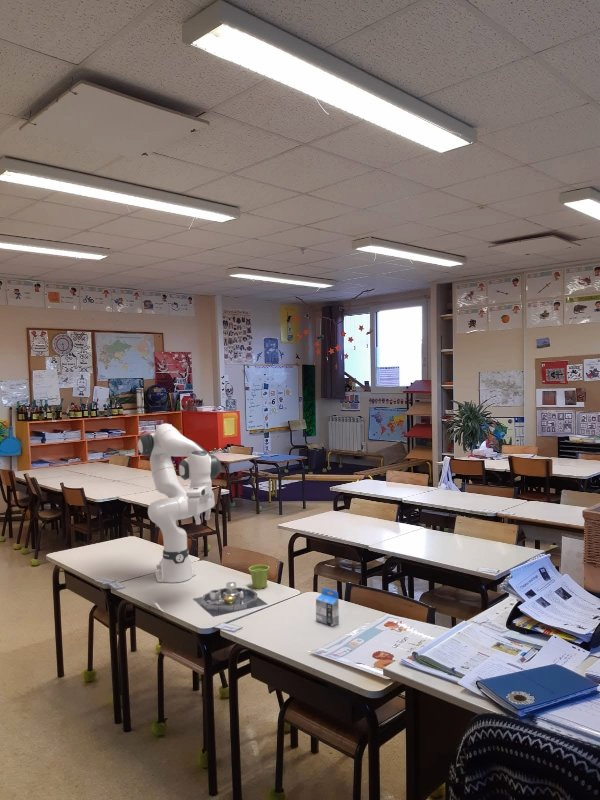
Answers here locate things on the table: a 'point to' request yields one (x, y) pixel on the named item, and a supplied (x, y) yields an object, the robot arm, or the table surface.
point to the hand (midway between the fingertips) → (203, 522)
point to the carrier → (231, 600)
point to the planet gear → (215, 598)
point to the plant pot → (259, 575)
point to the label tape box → (327, 607)
